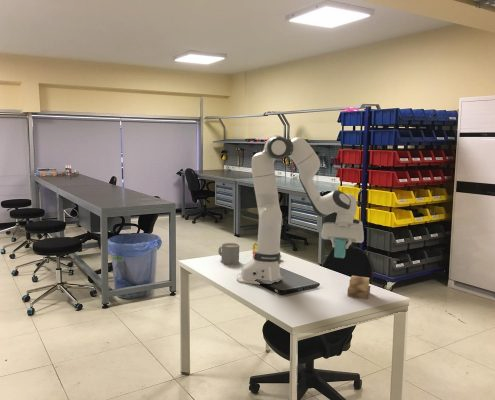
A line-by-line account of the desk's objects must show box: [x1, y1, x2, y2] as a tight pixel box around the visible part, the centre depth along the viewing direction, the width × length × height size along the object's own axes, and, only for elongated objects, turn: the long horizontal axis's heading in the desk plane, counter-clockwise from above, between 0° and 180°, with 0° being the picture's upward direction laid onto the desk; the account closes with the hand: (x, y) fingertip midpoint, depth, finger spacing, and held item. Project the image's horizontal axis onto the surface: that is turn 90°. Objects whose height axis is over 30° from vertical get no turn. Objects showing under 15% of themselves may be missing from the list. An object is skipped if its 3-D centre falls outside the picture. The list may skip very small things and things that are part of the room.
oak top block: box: [348, 275, 370, 291], centre depth 210 cm, size 8×8×4 cm
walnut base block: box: [346, 285, 371, 300], centre depth 211 cm, size 9×9×4 cm
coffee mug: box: [217, 242, 240, 265], centre depth 260 cm, size 13×10×10 cm
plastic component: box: [251, 242, 282, 259], centre depth 271 cm, size 20×7×10 cm
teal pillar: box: [333, 239, 347, 259], centre depth 217 cm, size 4×4×8 cm
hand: (340, 247), depth 216 cm, fingers closed on teal pillar, 4 cm apart
